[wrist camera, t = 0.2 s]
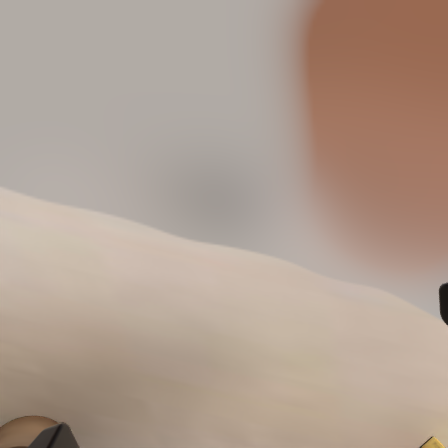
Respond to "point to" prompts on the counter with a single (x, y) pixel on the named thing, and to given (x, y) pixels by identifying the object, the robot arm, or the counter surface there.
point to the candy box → (433, 444)
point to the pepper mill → (23, 431)
